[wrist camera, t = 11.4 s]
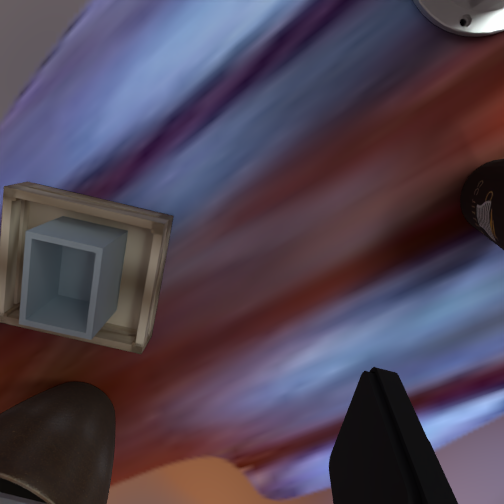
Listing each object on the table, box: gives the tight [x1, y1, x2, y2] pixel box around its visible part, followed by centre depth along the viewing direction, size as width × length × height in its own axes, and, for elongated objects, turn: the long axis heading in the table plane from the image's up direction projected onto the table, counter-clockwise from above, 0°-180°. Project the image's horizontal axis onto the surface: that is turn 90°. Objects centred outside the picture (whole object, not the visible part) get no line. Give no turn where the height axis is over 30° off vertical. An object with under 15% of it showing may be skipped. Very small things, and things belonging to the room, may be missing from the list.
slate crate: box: [19, 216, 128, 340], centre depth 36 cm, size 8×6×6 cm
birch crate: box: [0, 182, 173, 354], centre depth 38 cm, size 12×13×4 cm
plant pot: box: [0, 382, 115, 504], centre depth 36 cm, size 15×15×16 cm
